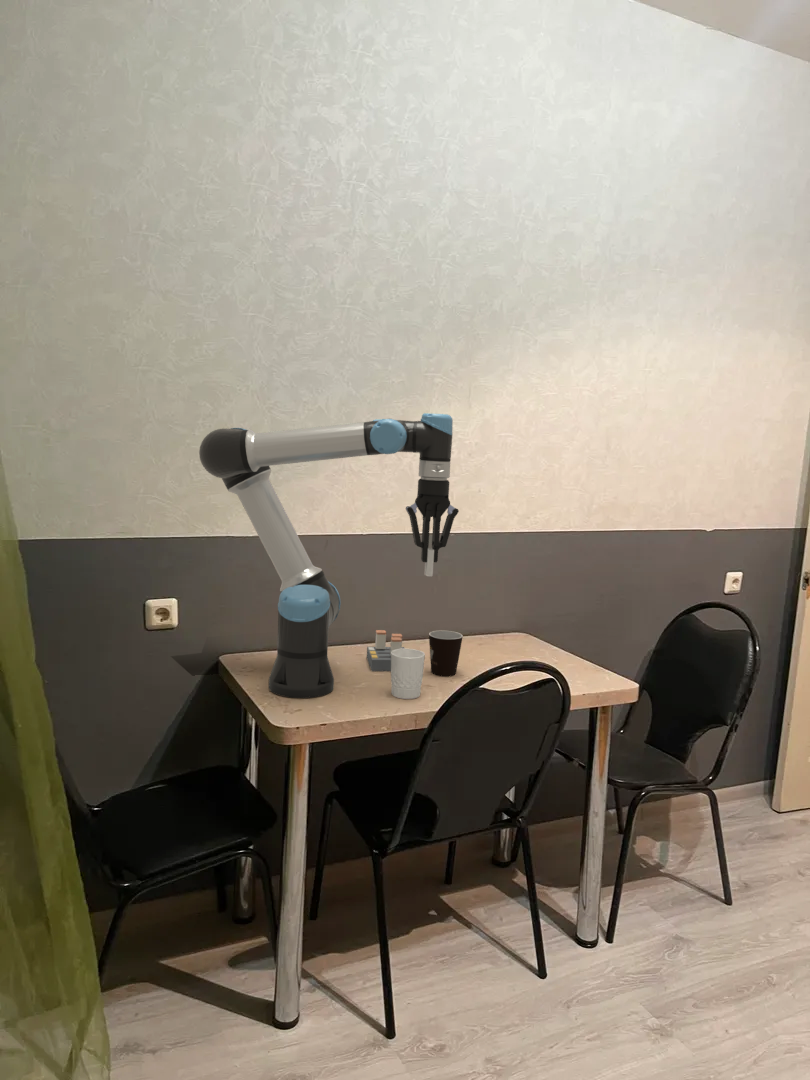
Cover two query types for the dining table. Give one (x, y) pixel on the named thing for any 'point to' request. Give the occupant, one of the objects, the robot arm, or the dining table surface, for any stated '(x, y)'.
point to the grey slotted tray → (379, 658)
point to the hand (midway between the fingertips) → (428, 575)
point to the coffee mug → (444, 652)
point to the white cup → (406, 673)
